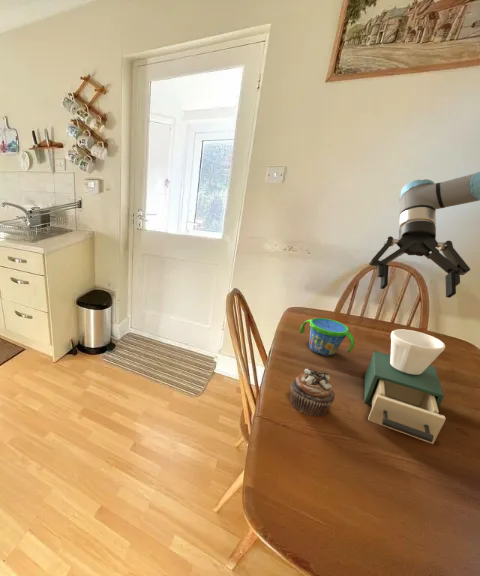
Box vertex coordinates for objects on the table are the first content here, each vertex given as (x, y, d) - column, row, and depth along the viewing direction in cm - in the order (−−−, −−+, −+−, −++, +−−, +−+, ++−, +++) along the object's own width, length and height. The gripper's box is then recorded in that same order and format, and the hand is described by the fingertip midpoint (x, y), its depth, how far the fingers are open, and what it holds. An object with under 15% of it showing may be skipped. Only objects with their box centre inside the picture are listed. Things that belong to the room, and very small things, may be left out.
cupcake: (284, 390, 89) (291, 360, 86) (324, 398, 86) (333, 367, 82) (290, 413, 81) (298, 381, 77) (334, 423, 78) (345, 390, 74)
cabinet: (429, 425, 77) (444, 395, 73) (364, 402, 84) (374, 374, 81) (422, 393, 87) (435, 366, 84) (364, 376, 95) (374, 350, 91)
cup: (436, 371, 82) (450, 340, 79) (425, 385, 77) (440, 353, 73) (387, 354, 90) (398, 325, 86) (374, 365, 84) (385, 336, 81)
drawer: (436, 459, 67) (450, 433, 64) (367, 433, 74) (377, 408, 71) (425, 410, 80) (436, 387, 77) (368, 391, 87) (376, 369, 84)
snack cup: (355, 358, 103) (365, 331, 100) (336, 366, 99) (345, 339, 95) (308, 337, 117) (315, 312, 113) (290, 343, 112) (296, 318, 109)
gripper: (468, 238, 89) (472, 305, 82) (359, 230, 101) (354, 289, 94) (486, 222, 83) (492, 293, 76) (367, 216, 94) (363, 277, 88)
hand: (416, 291), depth 85 cm, fingers open, 13 cm apart
